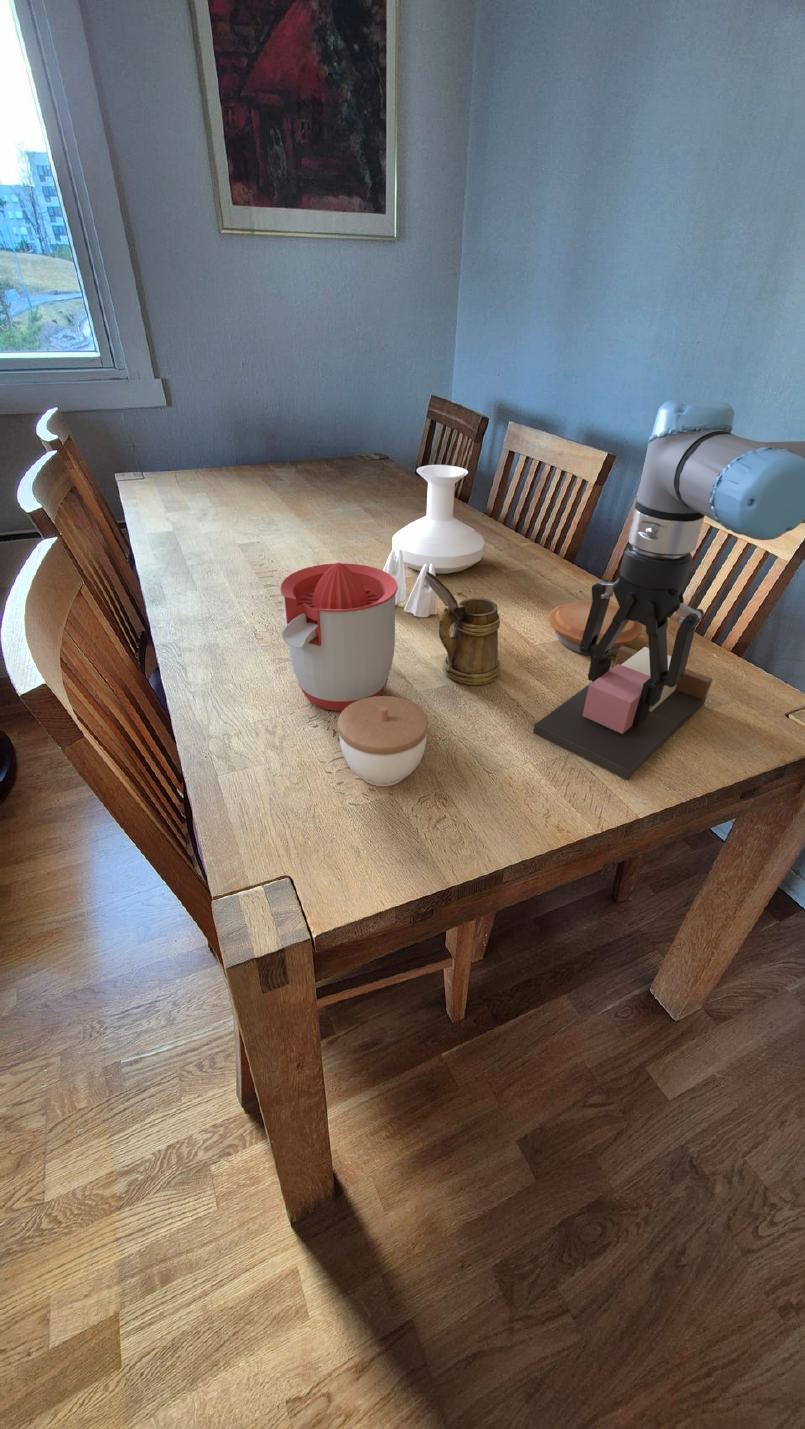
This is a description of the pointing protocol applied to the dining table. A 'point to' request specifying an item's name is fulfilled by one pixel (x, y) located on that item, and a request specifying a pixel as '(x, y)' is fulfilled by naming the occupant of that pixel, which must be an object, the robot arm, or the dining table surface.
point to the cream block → (647, 670)
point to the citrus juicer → (340, 631)
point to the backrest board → (635, 743)
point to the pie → (573, 622)
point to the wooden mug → (468, 637)
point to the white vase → (439, 528)
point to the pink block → (615, 698)
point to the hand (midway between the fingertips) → (616, 711)
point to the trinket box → (382, 738)
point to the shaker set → (421, 594)
